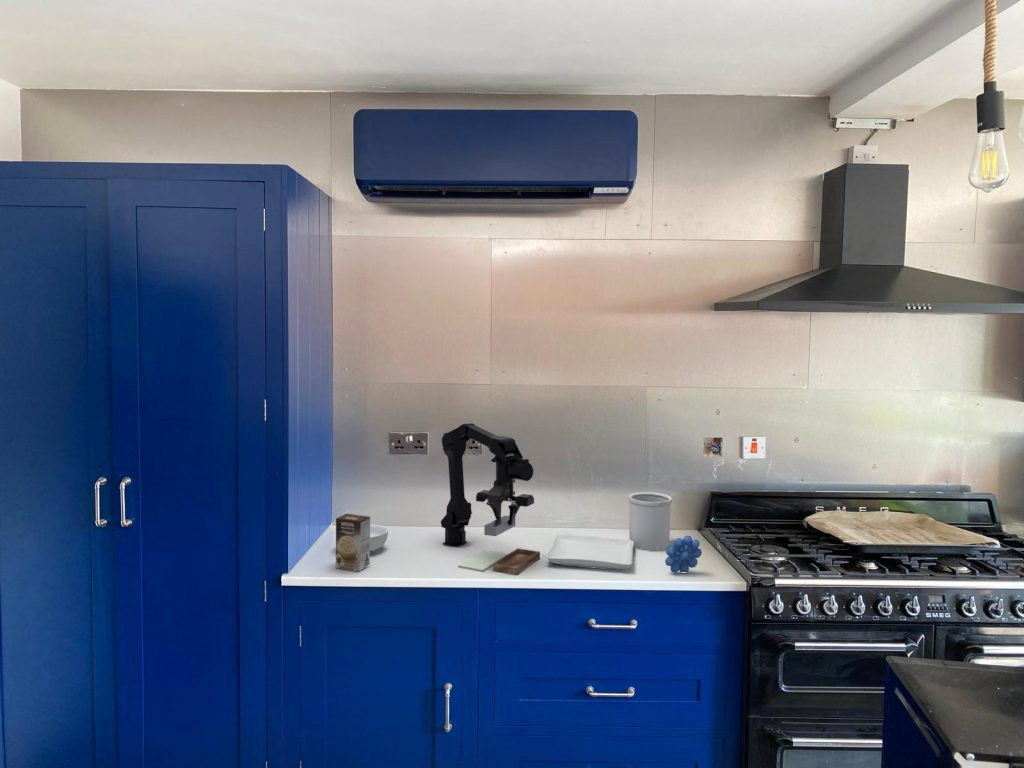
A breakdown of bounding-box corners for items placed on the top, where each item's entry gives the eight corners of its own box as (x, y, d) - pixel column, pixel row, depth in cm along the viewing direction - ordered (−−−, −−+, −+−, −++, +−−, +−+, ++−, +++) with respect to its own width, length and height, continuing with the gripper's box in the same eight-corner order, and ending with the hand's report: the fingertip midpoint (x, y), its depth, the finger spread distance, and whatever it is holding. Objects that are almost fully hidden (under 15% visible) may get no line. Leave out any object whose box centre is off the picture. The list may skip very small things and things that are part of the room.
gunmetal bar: (484, 534, 208) (484, 525, 208) (504, 524, 221) (504, 515, 221) (495, 536, 206) (495, 526, 206) (515, 525, 219) (515, 516, 219)
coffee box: (334, 568, 208) (334, 518, 207) (346, 562, 214) (345, 513, 213) (360, 572, 205) (359, 520, 204) (371, 565, 211) (371, 515, 210)
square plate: (632, 575, 205) (632, 563, 205) (544, 568, 211) (544, 556, 211) (634, 549, 232) (634, 538, 232) (556, 543, 237) (556, 532, 237)
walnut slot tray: (492, 571, 207) (493, 564, 207) (517, 554, 223) (517, 548, 223) (516, 575, 203) (516, 568, 203) (539, 558, 220) (540, 551, 220)
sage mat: (458, 567, 210) (458, 565, 210) (484, 551, 226) (484, 549, 226) (483, 571, 206) (483, 569, 206) (508, 555, 222) (508, 553, 222)
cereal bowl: (341, 561, 215) (341, 539, 215) (333, 546, 230) (332, 526, 230) (393, 554, 222) (393, 533, 222) (381, 541, 237) (381, 521, 237)
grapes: (695, 568, 212) (696, 531, 211) (704, 575, 205) (705, 537, 204) (660, 569, 210) (661, 531, 210) (667, 576, 204) (668, 538, 203)
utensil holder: (668, 553, 226) (669, 503, 225) (624, 549, 231) (625, 499, 230) (672, 541, 240) (673, 494, 239) (631, 537, 245) (632, 490, 243)
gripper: (467, 478, 213) (467, 526, 213) (519, 483, 204) (519, 533, 205) (484, 473, 223) (484, 519, 223) (534, 477, 214) (534, 525, 215)
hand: (504, 524), depth 216 cm, fingers closed on gunmetal bar, 4 cm apart
